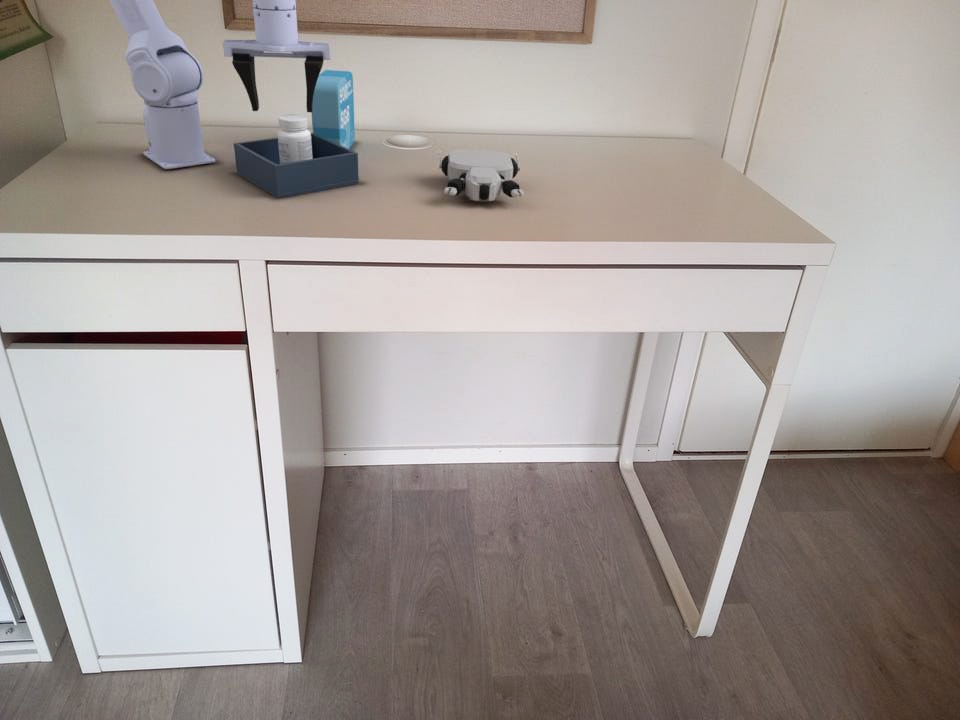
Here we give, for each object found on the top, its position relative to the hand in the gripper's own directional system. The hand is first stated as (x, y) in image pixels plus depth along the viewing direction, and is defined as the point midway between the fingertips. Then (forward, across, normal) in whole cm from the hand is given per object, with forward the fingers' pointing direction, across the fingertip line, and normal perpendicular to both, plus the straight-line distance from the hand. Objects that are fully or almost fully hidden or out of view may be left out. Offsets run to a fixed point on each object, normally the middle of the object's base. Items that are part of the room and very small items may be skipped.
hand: (282, 110), depth 107 cm
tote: (+9, +2, -3) cm, 10 cm away
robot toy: (+10, +29, -8) cm, 31 cm away
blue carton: (+10, +7, +14) cm, 18 cm away
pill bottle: (+9, +2, -3) cm, 10 cm away
